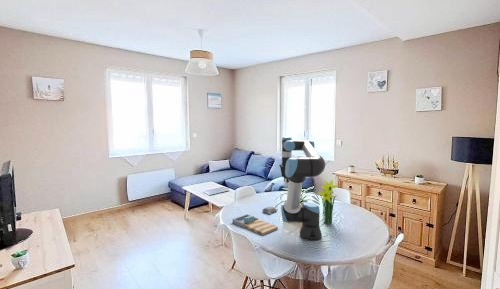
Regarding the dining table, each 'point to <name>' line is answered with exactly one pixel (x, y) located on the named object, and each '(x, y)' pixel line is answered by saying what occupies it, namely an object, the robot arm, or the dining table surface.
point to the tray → (241, 220)
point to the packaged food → (269, 210)
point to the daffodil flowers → (328, 201)
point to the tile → (249, 219)
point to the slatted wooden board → (261, 227)
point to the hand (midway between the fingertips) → (286, 186)
